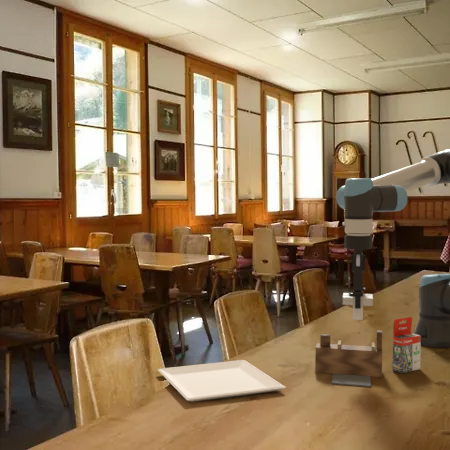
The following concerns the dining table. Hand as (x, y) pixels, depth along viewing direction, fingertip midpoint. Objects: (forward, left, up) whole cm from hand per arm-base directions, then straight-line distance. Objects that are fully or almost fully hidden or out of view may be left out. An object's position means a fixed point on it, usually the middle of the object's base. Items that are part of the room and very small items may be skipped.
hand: (357, 316), depth 171 cm
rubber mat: (+1, +8, -16) cm, 18 cm away
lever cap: (0, 0, +4) cm, 4 cm away
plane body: (+2, 0, -16) cm, 16 cm away
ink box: (-14, -6, -16) cm, 22 cm away
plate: (+35, +19, -16) cm, 43 cm away
